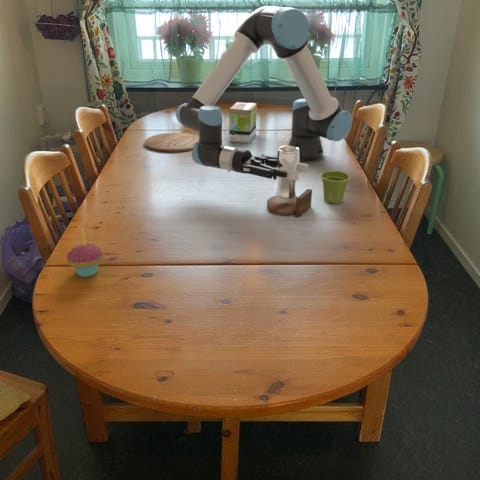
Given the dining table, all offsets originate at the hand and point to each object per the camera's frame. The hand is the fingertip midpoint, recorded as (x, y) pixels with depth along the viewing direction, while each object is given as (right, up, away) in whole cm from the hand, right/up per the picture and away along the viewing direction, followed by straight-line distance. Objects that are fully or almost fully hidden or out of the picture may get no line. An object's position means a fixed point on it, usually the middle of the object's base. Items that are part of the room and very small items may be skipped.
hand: (302, 172), depth 151 cm
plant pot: (+12, -8, +14) cm, 20 cm away
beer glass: (-4, -7, +6) cm, 10 cm away
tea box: (-18, +26, +78) cm, 84 cm away
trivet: (-48, +21, +69) cm, 87 cm away
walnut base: (-4, -10, +8) cm, 14 cm away
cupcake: (-57, -29, -27) cm, 69 cm away
